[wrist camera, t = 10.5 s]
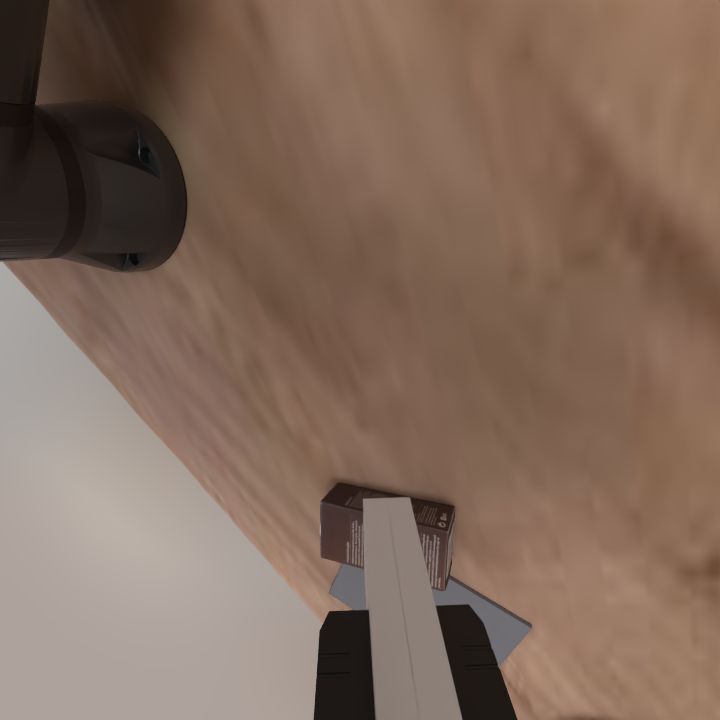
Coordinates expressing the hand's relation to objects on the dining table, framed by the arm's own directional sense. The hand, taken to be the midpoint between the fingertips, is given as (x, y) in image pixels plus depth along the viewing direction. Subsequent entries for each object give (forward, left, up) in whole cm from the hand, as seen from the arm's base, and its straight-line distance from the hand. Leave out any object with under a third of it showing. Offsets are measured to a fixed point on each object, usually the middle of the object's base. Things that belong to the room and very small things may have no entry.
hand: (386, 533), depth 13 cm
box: (+7, -16, -20) cm, 26 cm away
